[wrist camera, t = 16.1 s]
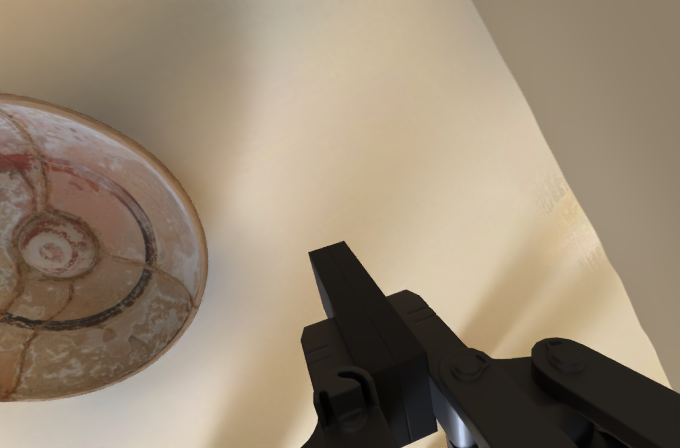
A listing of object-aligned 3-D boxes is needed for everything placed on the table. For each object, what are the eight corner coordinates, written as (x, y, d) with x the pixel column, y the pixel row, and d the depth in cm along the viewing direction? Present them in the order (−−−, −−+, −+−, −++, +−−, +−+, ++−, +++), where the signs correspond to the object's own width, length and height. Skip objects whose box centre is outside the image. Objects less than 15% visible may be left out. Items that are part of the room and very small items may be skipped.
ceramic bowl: (-220, 270, 24) (-327, 310, 19) (-1, 16, 23) (-60, -5, 18) (102, 399, 34) (82, 445, 29) (264, 227, 33) (269, 247, 28)
